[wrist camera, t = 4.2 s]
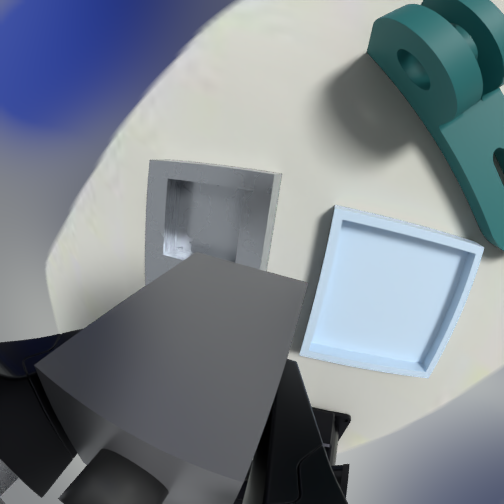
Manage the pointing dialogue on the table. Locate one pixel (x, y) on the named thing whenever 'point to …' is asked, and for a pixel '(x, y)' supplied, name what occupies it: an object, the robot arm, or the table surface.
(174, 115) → the table surface
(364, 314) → the tray
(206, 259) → the plug
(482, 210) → the bracket
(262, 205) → the grey socket base
